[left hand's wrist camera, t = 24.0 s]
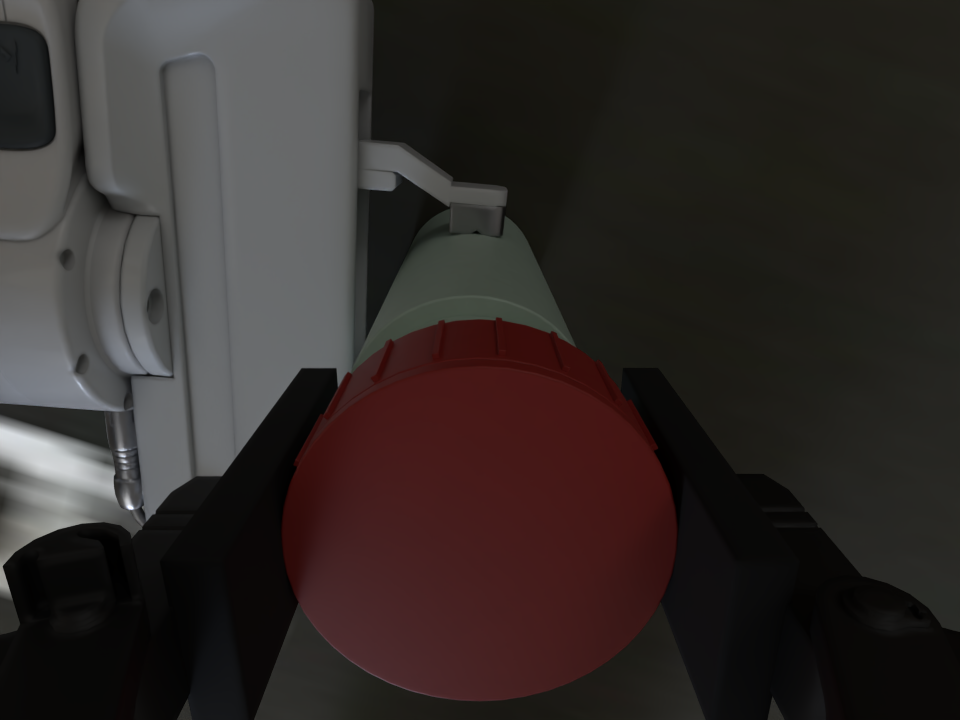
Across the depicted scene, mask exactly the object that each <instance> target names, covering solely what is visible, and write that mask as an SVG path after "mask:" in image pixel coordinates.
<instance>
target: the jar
mask: <svg viewBox="0 0 960 720" xmlns="http://www.w3.org/2000/svg"><path fill="white" fill-rule="evenodd" d="M449 223H450V209H448V210H445V211H443V212H441V213H439V214H437V215H436V216H434V217H433V218H431V219H430V220H429V221H428V222H427V223H425V225H424V226H423V227H422V228H421V229H420V230H419V232H418V233H417V235H416V236H415V238H414V240H413V242H412V244H411V246H410V248H409V250H408V253H407V255H406V257H405V259H404V261H403V263H402V265H401V267H400V269H399V271H398V274H397V276H396V278H395V280H394V282H393V284H392V286H391V288H390V290H389V292H388V295H387V297H386V299H385V301H384V303H383V305H382V307H381V309H380V311H379V313H378V316H377V318H376V320H375V322H374V324H373V326H372V328H371V330H370V332H369V334H368V337H367V339H366V341H365V343H364V345H363V347H362V349H361V351H360V353H359V355H358V358H357V360H356V362H355V364H354V366H353V368H352V371H351V374H352V373H353V372H354V371H355V370H356V368H357V367H359V366H360V365H361V364H362V363H363V362H364V361H365V360H367V359H368V358H369V357H370V356H371V355H372V354H374V353H375V352H377V351H378V350H380V349H381V348H383V347H384V345H385V343H386V341H387V340H389V339H392V341H394V340H396V339H398V338H401V337H403V336H405V335H407V334H409V333H411V332H414V331H417V330H420V329H423V328H426V327H429V326H432V325H436V324H438V321H441V320H445V323H447V322H452V321H459V320H475V319H484V320H496V317H499V318H502V321H507V322H512V323H517V324H523V325H527V326H530V327H533V328H536V329H539V330H542V331H545V332H548V333H551V331H553V332H556V333H557V335H558V338H560V339H562V340H565V341H567V342H568V343H570V344H571V345H573V346H574V347H576V346H575V343H574V341H573V339H572V337H571V335H570V333H569V330H568V328H567V326H566V324H565V322H564V319H563V317H562V315H561V313H560V311H559V309H558V306H557V304H556V302H555V300H554V298H553V296H552V293H551V291H550V289H549V287H548V285H547V283H546V280H545V278H544V276H543V274H542V272H541V270H540V267H539V265H538V263H537V261H536V259H535V257H534V254H533V252H532V250H531V248H530V246H529V244H528V241H527V239H526V238H525V236H524V234H523V233H522V231H521V230H520V229H519V228H518V226H517V225H516V224H514V223H513V222H512V221H511V220H510V219H509V218H507V217H506V216H505V220H504V229H503V236H498V237H494V236H485V235H482V234H481V233H479V232H478V231H477V230H476V231H475V232H473V233H471V234H457V233H449Z"/></svg>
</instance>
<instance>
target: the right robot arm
mask: <svg viewBox="0 0 960 720" xmlns="http://www.w3.org/2000/svg"><path fill="white" fill-rule="evenodd" d="M373 34H374V7H373V3H372V0H0V403H6V404H20V405H34V406H48V407H61V408H75V409H89V410H103V411H104V413H105V421H106V428H107V436H108V441H109V446H110V449H111V452H112V456H113V460H114V465H115V476H114V489H115V495H116V498H117V500H118V503H119V505H120V507H121V508H123V509H126V510H130V511H131V514H132V516H133V517H134V518H135V520H136V521H137V522H138V523H139V524H140V525H141V526H142V527H143V525H144V524H145V523H146V521H147V520H148V519H149V518H150V517H151V516H152V514H155V513H156V510H157V508H158V507H159V506H160V505H161V504H162V502H163V501H164V500H165V499H166V498H167V497H168V495H169V494H170V493H171V492H172V491H174V490H175V489H177V488H178V487H180V486H182V485H183V484H185V483H186V482H188V481H190V480H191V479H193V478H194V477H196V476H223V474H224V473H225V472H226V470H227V469H228V467H229V466H230V465H231V463H232V462H233V461H234V459H235V458H236V457H237V455H238V454H239V453H240V451H241V450H242V448H243V447H244V446H245V444H246V443H247V442H248V440H249V439H250V438H251V436H252V435H253V433H254V432H255V431H256V429H257V428H258V427H259V425H260V424H261V423H262V421H263V420H264V419H265V417H266V416H267V414H268V413H269V412H270V410H271V409H272V408H273V406H274V405H275V404H276V402H277V401H278V399H279V398H280V397H281V395H282V394H283V393H284V391H285V390H286V389H287V387H288V386H289V384H290V383H291V382H292V380H293V379H294V378H295V376H296V375H297V374H298V372H299V371H300V370H301V368H337V380H338V387H339V385H340V383H341V381H342V380H343V378H344V376H345V374H346V373H347V372H350V373H351V371H352V368H353V366H354V364H355V362H356V360H357V358H358V355H359V353H360V351H361V349H362V347H363V345H364V343H365V341H366V317H367V277H368V237H369V196H370V190H383V191H392V190H394V189H395V188H396V187H397V186H398V185H399V184H400V183H402V177H403V176H404V177H405V178H407V179H408V180H410V181H411V182H413V183H414V184H416V185H417V186H419V187H420V188H422V189H423V190H425V191H426V192H427V193H429V194H430V195H432V196H433V197H435V198H436V199H438V200H439V201H441V202H442V203H444V204H445V205H447V206H448V207H449V206H450V223H449V233H457V234H471V233H473V232H475V231H476V230H477V231H478V232H479V233H481V234H482V235H485V236H494V237H498V236H503V229H504V220H505V212H506V201H507V192H508V190H507V188H506V187H503V186H498V185H488V184H477V183H466V182H454V181H453V177H452V176H450V175H449V174H447V173H446V172H445V171H443V170H442V169H440V168H439V167H438V166H436V165H435V164H433V163H432V162H431V161H429V160H428V159H426V158H425V157H424V156H422V155H421V154H419V153H418V152H417V151H415V150H414V149H412V148H411V147H410V146H408V145H407V144H405V143H400V142H389V141H378V140H371V116H372V75H373ZM142 506H144V508H145V512H144V511H143V509H142Z"/></svg>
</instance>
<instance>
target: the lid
mask: <svg viewBox="0 0 960 720" xmlns="http://www.w3.org/2000/svg"><path fill="white" fill-rule="evenodd" d="M656 449H658V447H657V445H656V443H655V441H654V440H653V438H652V436H651V434H650V433H649V431H648V429H647V427H646V425H645V424H644V422H643V420H642V418H641V416H640V415H639V413H638V411H637V409H636V408H635V406H634V404H633V402H632V400H631V399H630V400H628V401H626V399H625V398H624V396H623V394H622V393H621V391H620V390H619V388H618V387H617V385H616V384H615V382H614V381H613V380H612V379H611V378H610V377H609V375H608V373H607V371H606V370H605V368H604V366H603V364H602V362H601V361H599V360H597V361H596V362H595V361H593V360H592V359H591V358H590V357H589V356H588V355H586V354H585V353H584V352H582V351H581V350H579V349H578V348H576V347H574V346H573V345H571V344H570V343H568V342H567V341H565V340H562V339H560V338H558V335H557V333H556V332H553V331H551V333H548V332H545V331H542V330H539V329H536V328H533V327H530V326H527V325H523V324H517V323H512V322H507V321H502V318H499V317H496V320H484V319H475V320H459V321H452V322H447V323H445V320H441V321H438V324H436V325H432V326H429V327H426V328H423V329H420V330H417V331H414V332H411V333H409V334H407V335H405V336H403V337H401V338H398V339H396V340H394V341H392V339H389V340H387V341H386V343H385V345H384V347H383V348H381V349H380V350H378V351H377V352H375V353H374V354H372V355H371V356H370V357H369V358H368V359H367V360H365V361H364V362H363V363H362V364H361V365H360V366H359V367H357V368H356V370H355V371H354V372H353V373H352V374H351V373H350V372H347V373H346V374H345V376H344V378H343V380H342V381H341V383H340V385H339V387H338V389H337V391H336V393H335V394H334V396H333V398H332V400H331V402H330V404H329V406H328V408H327V409H326V411H325V413H324V415H322V414H320V416H319V418H318V420H317V421H316V423H315V425H314V427H313V429H312V431H311V432H310V434H309V436H308V438H307V440H306V442H305V443H304V445H303V447H302V449H301V451H300V453H299V454H298V456H297V458H296V460H295V462H294V466H296V467H297V468H296V471H295V473H294V475H293V477H292V480H291V482H290V484H289V488H288V491H287V495H286V498H285V502H284V506H283V514H282V523H281V539H282V549H283V557H284V563H285V568H286V573H287V576H288V579H289V581H290V584H291V587H292V590H293V592H294V594H295V596H296V598H297V600H298V602H299V604H300V606H301V608H302V609H303V611H304V613H305V614H306V616H307V617H308V618H309V620H310V621H311V623H312V624H313V625H314V627H315V628H316V629H317V631H318V632H319V633H320V634H321V635H322V636H323V637H324V638H325V639H326V640H327V641H328V642H329V643H330V644H331V645H332V646H333V647H334V648H335V649H336V650H337V651H339V652H340V653H341V654H342V655H344V656H345V657H346V658H347V659H348V660H350V661H351V662H353V663H354V664H356V665H357V666H359V667H360V668H362V669H364V670H365V671H367V672H368V673H370V674H372V675H374V676H376V677H378V678H380V679H382V680H384V681H386V682H388V683H391V684H393V685H396V686H399V687H402V688H404V689H407V690H410V691H413V692H417V693H421V694H425V695H429V696H433V697H440V698H446V699H453V700H467V701H491V700H505V699H512V698H519V697H525V696H529V695H533V694H537V693H541V692H545V691H549V690H551V689H554V688H557V687H559V686H562V685H565V684H567V683H570V682H572V681H574V680H576V679H578V678H580V677H582V676H584V675H586V674H588V673H590V672H592V671H593V670H595V669H596V668H598V667H599V666H601V665H603V664H604V663H606V662H607V661H609V660H610V659H611V658H613V657H614V656H615V655H616V654H617V653H619V652H620V651H621V650H622V649H623V648H625V647H626V646H627V645H628V644H629V643H630V642H631V641H632V640H633V639H634V638H635V636H636V635H637V634H638V633H639V632H640V631H641V630H642V629H643V627H644V626H645V625H646V623H647V622H648V621H649V619H650V618H651V617H652V615H653V614H654V612H655V611H656V609H657V607H658V605H659V603H660V601H661V599H662V598H663V596H664V594H665V592H666V589H667V586H668V583H669V581H670V578H671V575H672V572H673V567H674V563H675V558H676V550H677V539H678V523H677V514H676V505H675V502H674V498H673V494H672V491H671V487H670V484H669V481H668V479H667V477H666V475H665V472H664V470H663V468H662V466H661V463H660V462H659V460H658V458H657V456H656V454H655V452H654V450H656Z"/></svg>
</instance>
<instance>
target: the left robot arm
mask: <svg viewBox="0 0 960 720" xmlns="http://www.w3.org/2000/svg"><path fill="white" fill-rule="evenodd" d="M337 389H338V380H337V368H301V370H300V371H299V372H298V374H297V375H296V376H295V378H294V379H293V380H292V382H291V383H290V384H289V386H288V387H287V389H286V390H285V391H284V393H283V394H282V395H281V397H280V398H279V399H278V401H277V402H276V404H275V405H274V406H273V408H272V409H271V410H270V412H269V413H268V414H267V416H266V417H265V419H264V420H263V421H262V423H261V424H260V425H259V427H258V428H257V429H256V431H255V432H254V433H253V435H252V436H251V438H250V439H249V440H248V442H247V443H246V444H245V446H244V447H243V448H242V450H241V451H240V453H239V454H238V455H237V457H236V458H235V459H234V461H233V462H232V463H231V465H230V466H229V467H228V469H227V470H226V472H225V473H224V474H223V476H196V477H194V478H193V479H191V480H190V481H188V482H186V483H185V484H183V485H182V486H180V487H178V488H177V489H175V490H174V491H172V492H171V493H170V494H169V495H168V497H167V498H166V499H165V500H164V501H163V502H162V504H161V505H160V506H159V507H158V508H157V510H156V513H155V514H152V516H151V517H150V518H149V519H148V520H147V521H146V523H145V524H144V525H143V529H142V530H139V531H138V532H137V533H136V535H135V536H134V537H133V538H132V539H131V535H130V533H129V532H128V531H127V530H126V529H124V528H123V527H122V526H120V525H115V524H110V523H105V522H101V523H86V524H79V525H75V526H71V527H67V528H63V529H59V530H56V531H54V532H51V533H49V534H47V535H44V536H42V537H40V538H37V539H35V540H33V541H32V542H30V543H29V544H27V545H26V546H24V547H23V548H21V549H19V550H18V551H16V552H15V553H14V554H13V555H12V556H11V558H10V559H9V560H8V561H7V562H6V563H5V564H4V565H3V569H4V572H5V576H6V579H7V582H8V585H9V589H10V592H11V595H12V598H13V602H14V605H15V608H16V611H17V615H18V618H19V621H20V626H19V628H18V630H17V631H14V632H10V633H7V634H2V635H0V720H177V718H178V716H179V714H180V712H181V710H182V708H183V706H184V704H185V702H186V700H187V698H188V701H189V706H190V711H191V716H192V720H254V718H255V715H256V713H257V710H258V707H259V705H260V702H261V699H262V697H263V694H264V692H265V689H266V686H267V684H268V681H269V678H270V676H271V673H272V670H273V668H274V665H275V663H276V660H277V657H278V655H279V652H280V649H281V647H282V644H283V642H284V639H285V636H286V634H287V631H288V628H289V626H290V623H291V621H292V618H293V615H294V613H295V610H296V607H297V605H298V600H297V598H296V596H295V594H294V592H293V590H292V587H291V584H290V581H289V579H288V576H287V573H286V568H285V563H284V557H283V549H282V539H281V523H282V514H283V506H284V502H285V498H286V495H287V491H288V488H289V484H290V482H291V480H292V477H293V475H294V473H295V471H296V468H297V467H296V466H294V462H295V460H296V458H297V456H298V454H299V453H300V451H301V449H302V447H303V445H304V443H305V442H306V440H307V438H308V436H309V434H310V432H311V431H312V429H313V427H314V425H315V423H316V421H317V420H318V418H319V416H320V414H322V415H324V413H325V411H326V409H327V408H328V406H329V404H330V402H331V400H332V398H333V396H334V394H335V393H336V391H337ZM621 393H622V394H623V396H624V398H625V399H626V401H628V400H630V399H631V400H632V402H633V404H634V406H635V408H636V409H637V411H638V413H639V415H640V416H641V418H642V420H643V422H644V424H645V425H646V427H647V429H648V431H649V433H650V434H651V436H652V438H653V440H654V441H655V443H656V445H657V447H658V449H656V450H654V452H655V454H656V456H657V458H658V460H659V462H660V463H661V466H662V468H663V470H664V472H665V475H666V477H667V479H668V481H669V484H670V487H671V491H672V494H673V498H674V502H675V505H676V514H677V523H678V539H677V550H676V558H675V563H674V567H673V572H672V575H671V578H670V581H669V583H668V586H667V589H666V592H665V594H664V596H663V598H662V599H661V603H662V606H663V608H664V611H665V614H666V616H667V619H668V622H669V624H670V627H671V629H672V632H673V635H674V637H675V640H676V643H677V645H678V648H679V651H680V653H681V656H682V658H683V661H684V664H685V666H686V669H687V672H688V674H689V677H690V679H691V682H692V685H693V687H694V690H695V693H696V695H697V698H698V701H699V703H700V706H701V708H702V711H703V714H704V716H705V719H706V720H767V719H768V714H769V709H770V704H771V699H772V696H773V698H774V700H775V702H776V704H777V706H778V708H779V710H780V711H781V713H782V715H783V717H784V719H785V720H960V632H957V631H953V630H949V629H946V628H942V627H941V625H940V623H939V622H938V620H937V619H936V618H935V616H934V615H933V614H932V612H931V611H930V610H929V608H927V607H926V606H925V605H923V604H922V603H921V602H920V601H918V600H917V599H916V598H914V597H913V596H912V595H910V594H908V593H906V592H904V591H902V590H900V589H898V588H896V587H894V586H892V585H890V584H888V583H884V582H881V581H877V580H874V579H870V578H867V577H862V576H861V575H860V573H859V572H858V571H857V570H856V569H855V567H854V566H853V565H852V564H851V563H850V562H849V560H848V559H847V558H846V557H845V556H844V554H843V553H842V552H841V551H840V550H839V549H838V547H837V546H836V545H835V544H834V543H833V542H832V540H831V539H830V538H829V537H828V536H827V534H826V533H825V532H824V531H823V530H822V529H821V528H818V526H817V523H816V521H815V520H814V519H813V518H812V517H811V516H810V514H809V513H808V512H805V511H804V507H803V506H802V505H801V504H800V503H799V501H798V500H797V499H796V498H795V497H794V496H793V494H792V493H791V492H790V491H789V490H788V489H787V488H785V487H783V486H782V485H780V484H779V483H777V482H775V481H774V480H772V479H771V478H769V477H767V476H766V475H764V474H735V472H734V471H733V469H732V468H731V467H730V465H729V464H728V463H727V461H726V460H725V459H724V457H723V456H722V454H721V453H720V452H719V450H718V449H717V448H716V446H715V445H714V444H713V442H712V441H711V440H710V438H709V437H708V435H707V434H706V433H705V431H704V430H703V429H702V427H701V426H700V425H699V423H698V422H697V420H696V419H695V418H694V416H693V415H692V414H691V412H690V411H689V410H688V408H687V407H686V405H685V404H684V403H683V401H682V400H681V399H680V397H679V396H678V395H677V393H676V392H675V391H674V389H673V388H672V386H671V385H670V384H669V382H668V381H667V380H666V378H665V377H664V376H663V374H662V373H661V371H660V370H659V369H658V368H623V375H622V387H621Z"/></svg>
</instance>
